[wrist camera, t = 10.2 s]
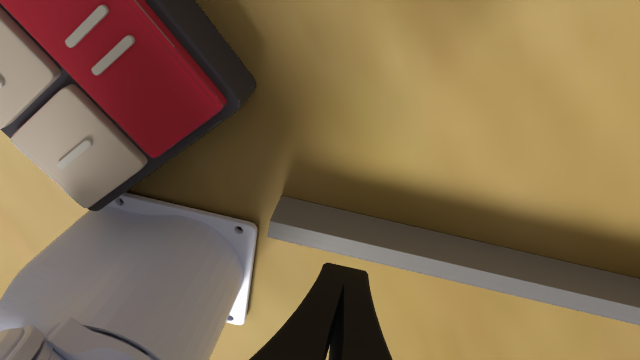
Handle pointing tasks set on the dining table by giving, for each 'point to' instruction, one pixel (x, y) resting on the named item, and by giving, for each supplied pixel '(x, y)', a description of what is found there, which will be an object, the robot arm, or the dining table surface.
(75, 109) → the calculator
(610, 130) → the dining table surface
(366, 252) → the grey piece
